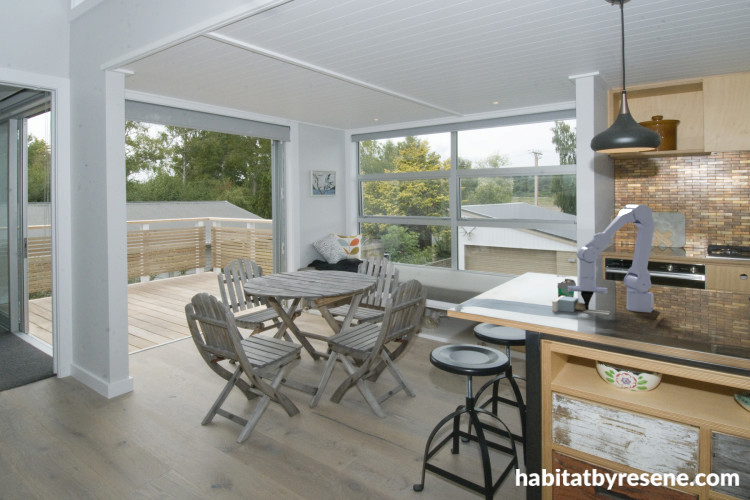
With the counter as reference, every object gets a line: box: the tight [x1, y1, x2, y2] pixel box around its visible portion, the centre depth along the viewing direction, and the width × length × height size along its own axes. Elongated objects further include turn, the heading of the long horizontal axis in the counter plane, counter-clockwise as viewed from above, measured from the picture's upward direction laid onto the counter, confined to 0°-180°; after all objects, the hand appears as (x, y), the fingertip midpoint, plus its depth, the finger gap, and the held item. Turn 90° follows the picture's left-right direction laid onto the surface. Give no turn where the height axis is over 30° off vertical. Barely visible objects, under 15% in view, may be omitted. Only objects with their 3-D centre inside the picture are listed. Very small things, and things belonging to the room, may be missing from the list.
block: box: [558, 296, 579, 313], centre depth 195 cm, size 6×7×6 cm
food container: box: [557, 278, 577, 298], centre depth 211 cm, size 12×6×10 cm, turn 143°
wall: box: [551, 296, 563, 313], centre depth 197 cm, size 2×12×6 cm, turn 141°
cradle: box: [582, 308, 611, 316], centre depth 188 cm, size 9×5×2 cm, turn 51°
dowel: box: [574, 302, 586, 312], centre depth 194 cm, size 8×3×3 cm, turn 53°
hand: (587, 309), depth 190 cm, fingers closed
